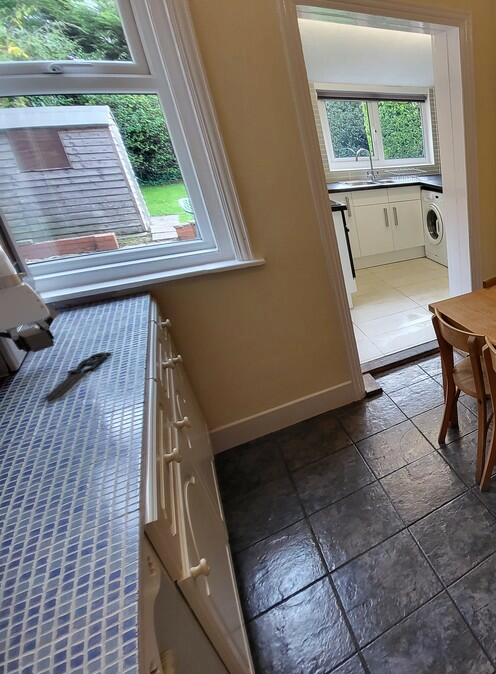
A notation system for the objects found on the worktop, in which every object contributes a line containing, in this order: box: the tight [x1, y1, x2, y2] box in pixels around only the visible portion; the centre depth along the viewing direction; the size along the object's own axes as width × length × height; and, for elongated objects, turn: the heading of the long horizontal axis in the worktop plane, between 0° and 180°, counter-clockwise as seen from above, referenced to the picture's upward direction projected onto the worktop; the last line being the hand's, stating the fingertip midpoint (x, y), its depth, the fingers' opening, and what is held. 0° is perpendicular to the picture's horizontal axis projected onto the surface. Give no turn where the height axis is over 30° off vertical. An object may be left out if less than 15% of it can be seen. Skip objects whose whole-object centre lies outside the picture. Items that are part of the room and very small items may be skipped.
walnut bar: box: [17, 326, 55, 353], centre depth 110 cm, size 7×4×4 cm, turn 66°
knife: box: [45, 351, 112, 405], centre depth 105 cm, size 25×6×1 cm, turn 16°
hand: (38, 346), depth 111 cm, fingers closed on walnut bar, 4 cm apart
